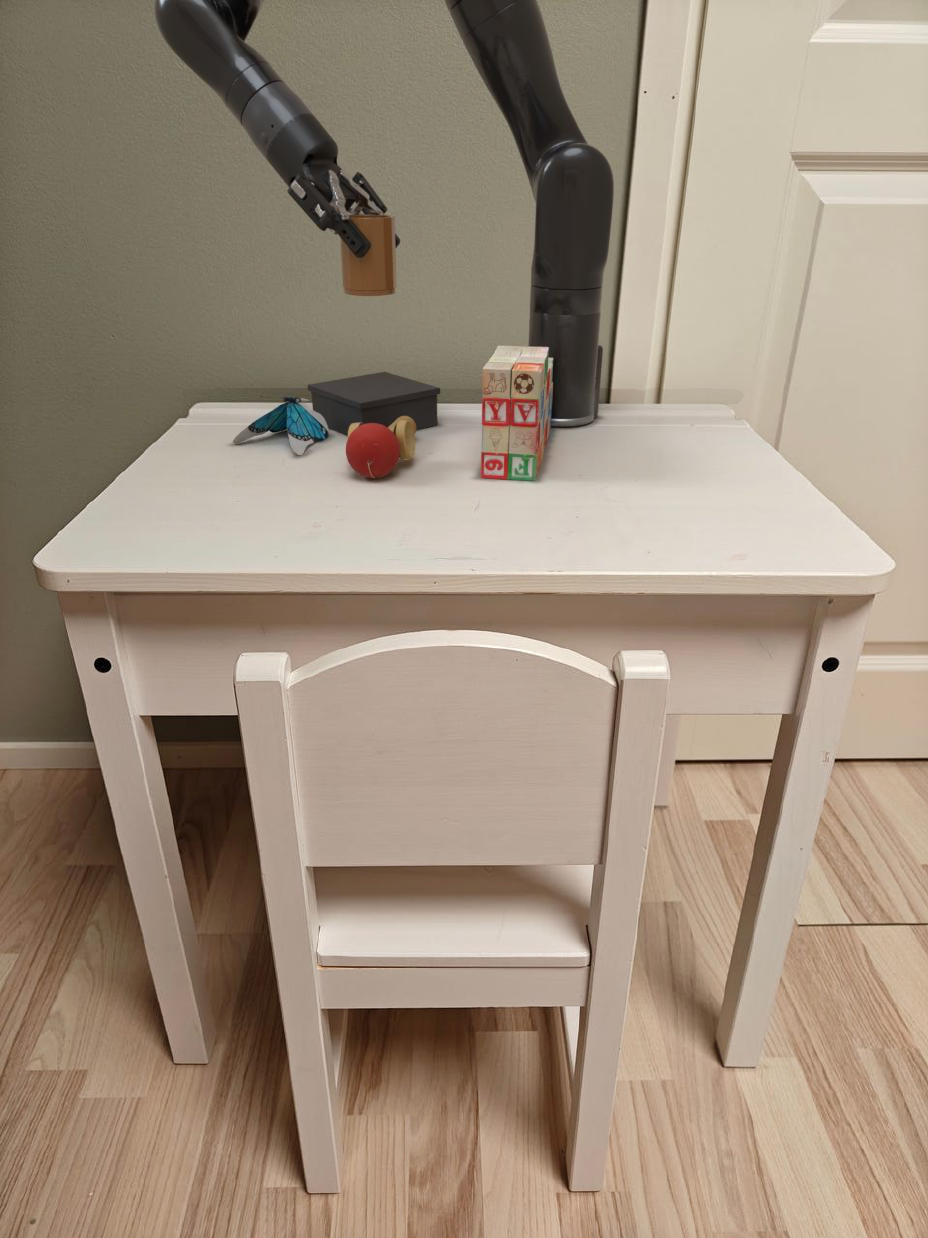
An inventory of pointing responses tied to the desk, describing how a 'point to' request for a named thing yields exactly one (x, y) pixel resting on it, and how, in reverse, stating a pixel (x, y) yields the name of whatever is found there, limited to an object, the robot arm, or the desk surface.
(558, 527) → the desk surface
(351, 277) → the cup
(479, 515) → the desk surface
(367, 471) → the kendama
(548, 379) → the stack of blocks
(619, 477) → the desk surface
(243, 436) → the decorative butterfly
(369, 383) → the black lidded box
